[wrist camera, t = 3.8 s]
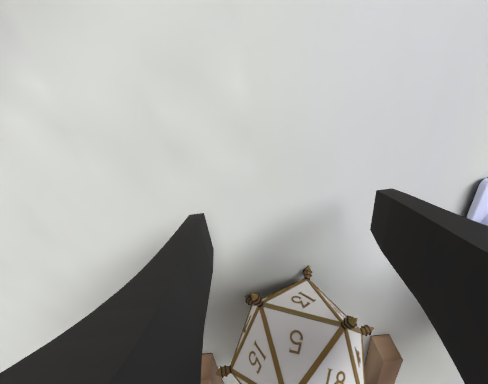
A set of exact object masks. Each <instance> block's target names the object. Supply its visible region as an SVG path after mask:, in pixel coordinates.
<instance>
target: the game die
mask: <svg viewBox="0 0 488 384" xmlns="http://www.w3.org/2000/svg"><path fill="white" fill-rule="evenodd" d="M311 273H312V271H311V269H310V267H309V266H308V267H307V268H306V269H305V270H304V274H303V275H304V277H305V278H304V279H303V280H301V281H298V282H296V283H294V284H292V285H290V286H288V287H286V288H283V289H281V290H279V291H277V292H275V293H273V294H271V295H268V296H266V297H264V298H262V297H260V294H256V293H255V294H254V293H251V296H245V298H246V303H248V305H251V308H250V311H249V314H248V317H247V320H246V322H245V325H244V328H243V331H242V334H241V337H240V340H239V342H238V345H237V348H236V351H235V354H234V357H233V359H232V362H231V365H230V366H226V365H225V366H224V367H221V366H220V369H219V370H218V371H217V372H216V373H215V375H218V376H220V377H222V378H223V377H224V376H226V377H227V375H228V374H230V373H232V374H233V376H234V377H235V378H236V379H237V381H238V382H239V383H240V384H365V372H364V356H363V339H362V335H366V336H367V335H371V332H372V330H373V329H374V328H372V327H369V326H368V325H365V326H364V327H363V326H361V327H362V328H360V329H359V328H358V327H357V326H356V325H357V324H356V322H357V318H353V317H351V316H346V315H345V314H344V313H343V312H342V311H341V310H340V309H339V308H338V307H337V306H336V305H335V304H334V303H333V302H332V301H331V300H330V299H329V298H328V297H327V296H326V295H325V294H324V293H322V292H321V291H320V290H319V289H318V288H317V287H316V286H315V285H314V284H313V283H312V282H311V281H310V277H311V276H312V275H311Z"/></svg>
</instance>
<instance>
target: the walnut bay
mask: <svg viewBox="0 0 488 384" xmlns="http://www.w3.org/2000/svg"><path fill="white" fill-rule="evenodd" d="M402 361H403V359H402V357H401V356H400V354H399V352H398V350H397V348H396V346H395V345H394V343H393V341H392V339H391V337H390V335H389V334H388V335H379V336H371V340H370V345H369V350H368V354H367V359H366V364H365V368H364V372H365V384H394V383H395V380H396V377H397V375H398V372H399V369H400V366H401V364H402ZM217 371H218V368H217V365H216V362H215V360H214V357H213V355H212V353H210V354H202V365H201V384H224V383H223V380H222V378H221V377H220V376H218V375H215V373H216V372H217Z"/></svg>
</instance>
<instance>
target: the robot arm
mask: <svg viewBox="0 0 488 384" xmlns="http://www.w3.org/2000/svg"><path fill="white" fill-rule="evenodd" d="M370 230H371V232H372V234H373V236H374V238H375V240H376V242H377V244H378V245H379V247H380V249H381V251H382V252H383V254H384V255H385V256H386V258H387V259H388V261H389V262H390V263H391V265H392V266H393V268H394V269H395V270H396V272H397V273H398V274H399V276H400V277H401V279H402V280H403V281H404V283H405V284H406V285H407V287H408V288H409V290H410V291H411V292H412V294H413V295H414V296H415V298H416V299H417V301H418V302H419V304H420V305H421V307H422V308H423V310H424V311H425V313H426V315H427V316H428V318H429V320H430V321H431V323H432V325H433V326H434V328H435V330H436V332H437V333H438V335H439V337H440V338H441V340H442V342H443V344H444V346H445V348H446V349H447V351H448V353H449V355H450V357H451V358H452V360H453V362H454V364H455V366H456V367H457V369H458V371H459V373H460V375H461V377H462V379H463V381H464V383H465V384H488V177H487V178H486V179H484V180H483V181H482V182H481V183H480V184H479V187H478V189H477V192H476V194H475V197H474V199H473V202H472V205H471V207H470V210H469V212H468V215H467V217H466V218H465V217H463V216H460V215H457V214H455V213H452V212H450V211H447V210H445V209H442V208H440V207H437V206H435V205H433V204H430V203H428V202H425V201H423V200H421V199H418V198H416V197H413V196H411V195H408V194H406V193H403V192H400V191H398V190H395V189H385V190H377V191H376V197H375V203H374V210H373V216H372V223H371V229H370ZM212 273H213V246H212V242H211V238H210V235H209V231H208V227H207V223H206V220H205V216H204V213H201V214H193V215H189V216H188V218H187V219H186V220H185V221H184V222H183V224H182V225H181V226H180V227H179V229H178V230H177V231H176V232H175V234H174V235H173V236H172V237H171V238H170V240H169V241H168V242H167V243H166V244H165V245H164V247H163V248H162V249H161V250H160V251H159V252H158V253H157V254H156V255H155V256H154V257H153V259H152V260H151V261H150V262H149V263H148V264H147V265H146V266H145V267H144V268H143V269H142V270H141V271H140V272H139V273H138V274H137V275H136V276H135V277H134V278H133V279H131V280H130V281H129V282H128V283H127V284H126V285H125V286H124V287H123V288H121V289H120V290H119V291H118V292H117V293H115V294H114V295H113V296H112V297H110V298H109V299H108V300H107V301H106V302H104V303H103V304H102V305H101V306H99V307H98V308H97V309H96V310H94V311H93V312H92V313H90V314H89V315H88V316H86V317H85V318H84V319H82V320H81V321H79V322H78V323H77V324H75V325H74V326H73V327H71V328H70V329H68V330H67V331H65V332H64V333H62V334H61V335H60V336H58V337H57V338H55V339H54V340H52V341H51V342H49V343H48V344H46V345H45V346H43V347H41V348H40V349H38V350H37V351H35V352H33V353H32V354H30V355H29V356H27V357H25V358H24V359H22V360H21V361H19V362H18V363H16V364H14V365H13V366H11V367H10V368H8V369H6V370H5V371H3V372H1V373H0V384H201V365H202V348H203V333H204V324H205V317H206V311H207V305H208V299H209V292H210V286H211V279H212Z"/></svg>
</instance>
